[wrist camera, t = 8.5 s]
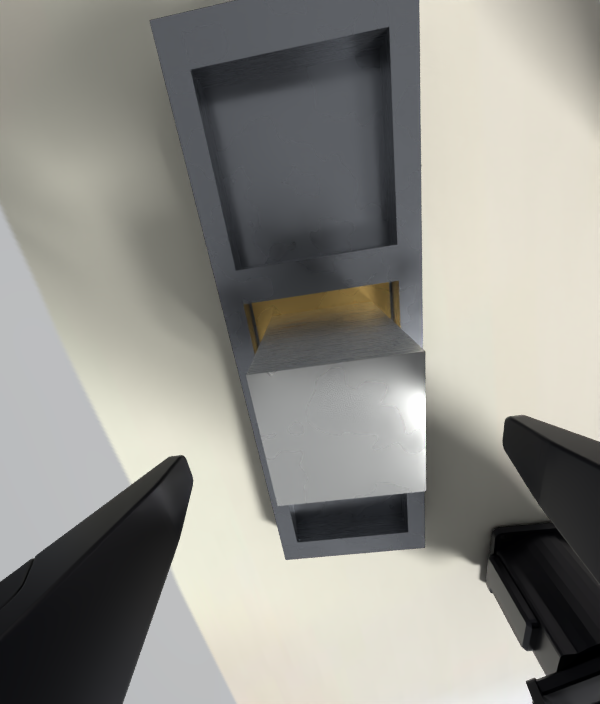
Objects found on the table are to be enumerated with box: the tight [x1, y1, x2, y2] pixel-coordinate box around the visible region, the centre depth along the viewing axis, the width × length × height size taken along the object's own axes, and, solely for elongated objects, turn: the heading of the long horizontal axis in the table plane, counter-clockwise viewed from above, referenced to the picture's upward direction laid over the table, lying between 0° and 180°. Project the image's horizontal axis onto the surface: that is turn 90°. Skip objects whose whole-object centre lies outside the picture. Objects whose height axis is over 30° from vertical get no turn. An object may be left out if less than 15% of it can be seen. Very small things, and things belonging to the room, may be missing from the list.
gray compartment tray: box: [150, 0, 425, 560], centre depth 15 cm, size 9×27×2 cm, turn 9°
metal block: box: [246, 301, 426, 506], centre depth 12 cm, size 5×5×7 cm
